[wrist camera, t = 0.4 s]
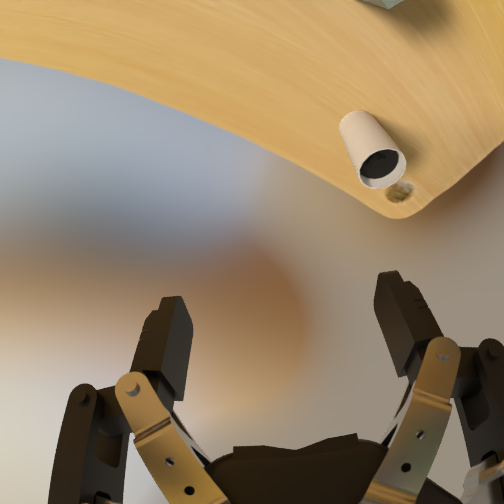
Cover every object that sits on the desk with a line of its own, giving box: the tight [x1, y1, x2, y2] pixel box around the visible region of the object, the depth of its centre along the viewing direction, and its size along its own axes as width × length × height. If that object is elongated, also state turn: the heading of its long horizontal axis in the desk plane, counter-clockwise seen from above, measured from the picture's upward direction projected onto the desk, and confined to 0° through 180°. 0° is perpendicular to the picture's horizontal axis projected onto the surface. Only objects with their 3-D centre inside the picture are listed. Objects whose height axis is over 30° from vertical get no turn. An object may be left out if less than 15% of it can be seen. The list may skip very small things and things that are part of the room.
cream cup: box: [339, 110, 406, 189], centre depth 35 cm, size 7×7×10 cm
